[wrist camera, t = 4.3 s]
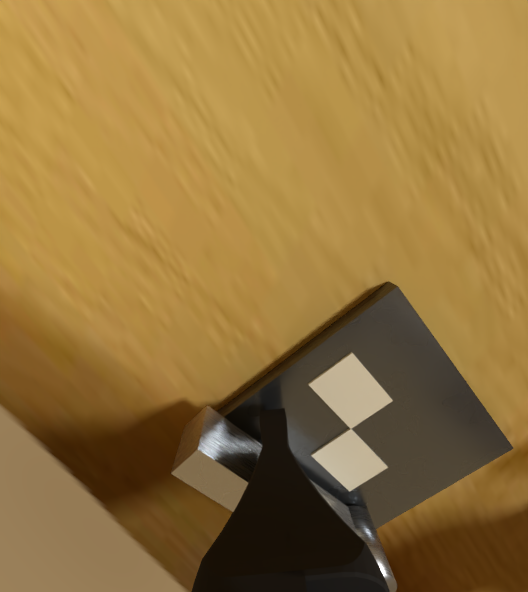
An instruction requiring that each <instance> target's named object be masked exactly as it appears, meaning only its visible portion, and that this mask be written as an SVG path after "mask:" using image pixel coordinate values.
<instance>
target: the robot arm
mask: <svg viewBox="0 0 528 592" xmlns="http://www.w3.org/2000/svg"><path fill="white" fill-rule="evenodd" d="M259 424H260V432H261V440H262V450H261V452H260V455H259V458H258V461H257V464H256V466H255V469H254V471H253V474H252V476H251V478H250V481H249V483H248V485H247V487H246V489H245V491H244V493H243V495H242V497H241V499H240V501H239V503H238V505H237V507H236V508H235V510H234V512H233V513H232V515H231V517H230V518H229V520H228V522H227V523H226V525H225V527H224V528H223V530H222V532H221V533H220V535H219V536H218V538H217V539H216V540H215V542H214V543H213V545H212V546H211V547H210V549H209V550H208V552H207V553H206V555H205V556H204V557H203V559H202V561H201V564H200V567H199V570H198V573H197V576H196V579H195V582H194V585H193V589H192V592H390V590H389V588H388V585H387V582H386V580H385V578H384V576H383V573H382V571H381V569H380V567H379V565H378V563H377V561H376V560H375V558H374V556H373V554H372V552H371V551H370V549H369V547H368V545H367V544H366V542H365V541H364V540H363V539H362V538H360V537H359V536H358V535H357V534H356V533H355V532H354V531H353V530H352V529H351V528H350V527H349V526H348V525H347V524H346V523H345V522H344V520H343V519H342V518H341V517H340V516H339V515H338V514H337V513H336V512H335V511H334V509H333V508H332V507H331V506H330V505H329V503H328V502H327V501H326V500H325V499H324V497H323V496H322V495H321V494H320V493H319V491H318V490H317V489H316V487H315V486H314V485H313V483H312V482H311V481H310V479H309V478H308V476H307V475H306V474H305V472H304V471H303V469H302V467H301V466H300V464H299V463H298V461H297V459H296V458H295V456H294V454H293V453H292V451H291V449H290V447H289V441H288V428H287V418H286V413H285V408H282V409H272V410H262V411H259Z"/></svg>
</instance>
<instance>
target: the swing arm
mask: <svg viewBox="0 0 528 592" xmlns="http://www.w3.org/2000/svg"><path fill="white" fill-rule="evenodd" d="M261 450H262V444H260V443H259V442H258V441H256V440H255V439H254V438H252V437H251V436H249V435H248V434H247V433H245V432H244V431H242V430H241V429H240V428H238V427H237V426H236V425H234V424H233V423H231V422H230V421H229V420H227V419H226V418H225V417H223V416H222V415H220V414H219V413H218V412H216V411H215V410H213V409H212V408H211V407H209V406H208V405H207V406H206V407H205V408H204V409H203V410H202V411H200V412H199V413H198V414H197V415H196V416H195V417H194V418H193V419H192V420H191V421H190V422H189V423H188V424H187V425H185V427H184V430H183V434H182V437H181V440H180V444H179V447H178V451H177V454H176V457H175V461H174V464H173V468H172V471H171V474H172V475H174V476H175V477H177V478H179V479H180V480H182V481H183V482H185V483H187V484H188V485H190V486H192V487H193V488H195V489H196V490H198V491H200V492H201V493H203V494H205V495H206V496H208V497H209V498H211V499H213V500H214V501H216V502H218V503H219V504H221V505H222V506H224V507H226V508H227V509H229V510H231V511H232V512H234V510H235V508H236V507H237V505H238V503H239V501H240V499H241V497H242V495H243V493H244V491H245V489H246V487H247V485H248V483H249V481H250V478H251V476H252V474H253V471H254V469H255V466H256V464H257V461H258V458H259V455H260V452H261ZM310 481H311V482H312V483H313V485H314V486H315V487H316V489H317V490H318V491H319V493H320V494H321V495H322V496H323V497H324V499H325V500H326V501H327V502H328V503H329V505H330V506H331V507H332V508H333V509H334V511H335V512H336V513H337V514H338V515H339V516H340V517H341V518H342V519H343V520H344V522H345V523H346V524H347V525H348V526H349V527H350V528H351V529H352V530H353V531H354V532H355V533H356V534H357V535H358V536H359V537H360V538H362V539H363V540H364V541H365V542H366V544H367V545H368V547H369V549H370V551H371V552H372V554H373V556H374V558H375V560H376V561H377V563H378V565H379V567H380V569H381V571H382V573H383V576H384V578H385V580H386V582H387V585H388V588H389V590H390V592H396V590H397V583H396V580H395V578H394V575H393V572H392V570H391V567H390V565H389V562H388V560H387V557H386V554H385V552H384V549H383V547H382V544H381V541H380V539H379V536H378V534H377V531H376V529H375V526H374V523H373V521H372V518H371V516H370V513H369V512H368V511H367V510H366V509H365V508H363V507H360V506H346V505H345V504H343V503H342V502H341V501H339V500H338V499H336V498H335V497H334V496H332V495H331V494H330V493H328V492H327V491H325V490H324V489H323V488H321V487H320V486H318V485H317V484H316V483H314V482H313V481H312V480H310Z"/></svg>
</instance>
